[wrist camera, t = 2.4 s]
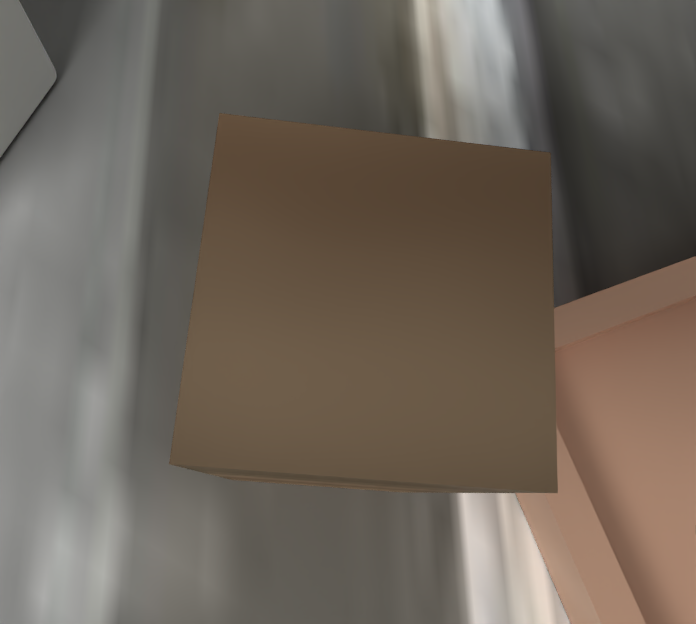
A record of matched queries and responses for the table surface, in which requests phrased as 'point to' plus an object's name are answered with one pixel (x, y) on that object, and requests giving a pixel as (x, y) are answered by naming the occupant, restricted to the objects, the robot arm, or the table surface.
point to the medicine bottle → (20, 71)
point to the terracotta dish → (624, 454)
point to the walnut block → (371, 314)
